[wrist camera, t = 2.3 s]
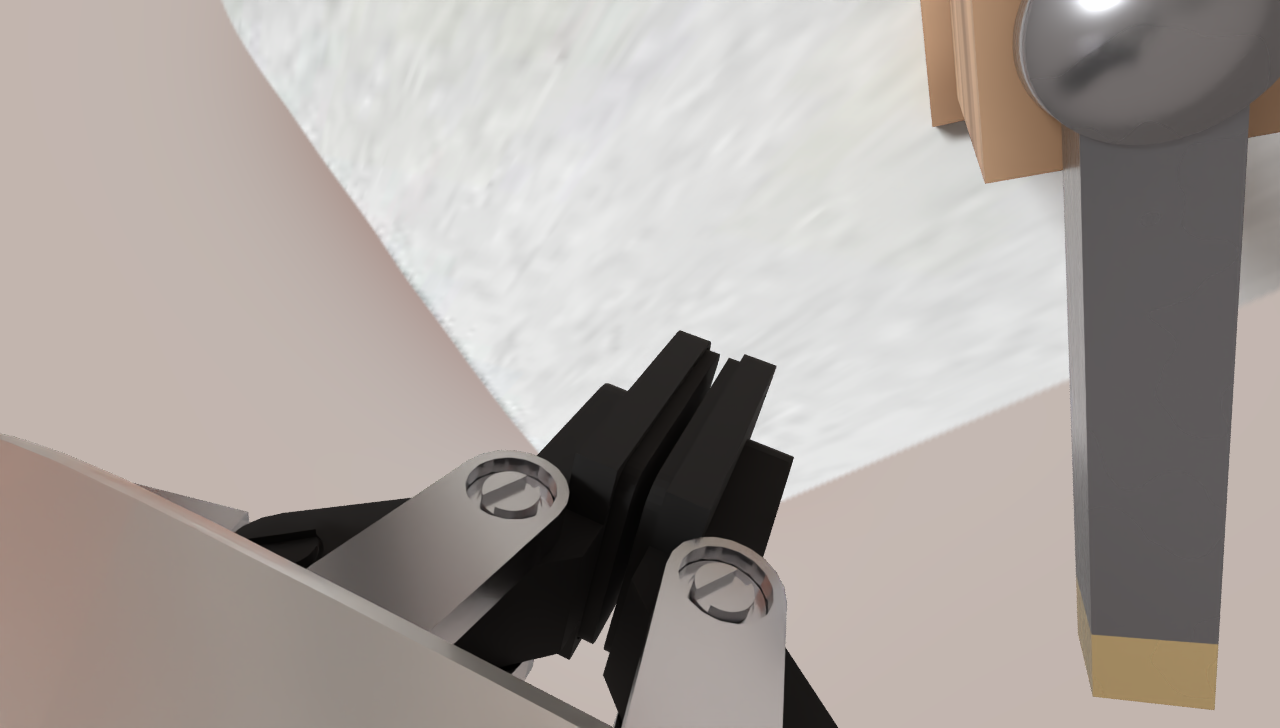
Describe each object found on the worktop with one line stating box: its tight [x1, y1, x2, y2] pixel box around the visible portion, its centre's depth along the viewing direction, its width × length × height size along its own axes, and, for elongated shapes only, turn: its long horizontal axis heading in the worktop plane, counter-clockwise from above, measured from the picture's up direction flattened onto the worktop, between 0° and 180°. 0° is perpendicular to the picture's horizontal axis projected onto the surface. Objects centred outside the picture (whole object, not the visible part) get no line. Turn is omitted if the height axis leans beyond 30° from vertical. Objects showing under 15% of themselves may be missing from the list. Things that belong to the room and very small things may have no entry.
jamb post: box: [920, 0, 1280, 184], centre depth 18 cm, size 6×5×20 cm
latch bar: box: [1012, 0, 1280, 710], centre depth 11 cm, size 13×3×2 cm, turn 15°
